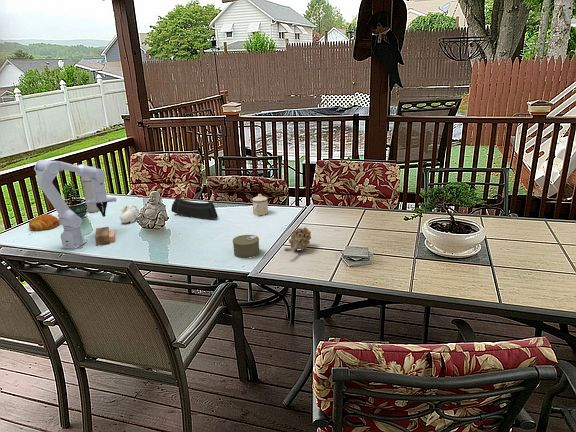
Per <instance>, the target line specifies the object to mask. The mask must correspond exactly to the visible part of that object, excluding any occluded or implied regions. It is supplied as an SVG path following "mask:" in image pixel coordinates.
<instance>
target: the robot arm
mask: <svg viewBox="0 0 576 432" xmlns="http://www.w3.org/2000/svg"><path fill="white" fill-rule="evenodd" d="M33 170H34V171H35V175H36V182H37V183H36V184H37V185H38V187H39V189H41V191H42V192H43V194H44V195H45V196H46V198H47V199H48V201H49V202H50V203H51V205H52V206H53V208H54V210H55V211H56V212H57V215H56V217H57V218H58V219H59V222H60V224H59V225H60V226H62V227H63V231H62V232H61V234H60V240H61V245H62V246H61V249H70V250H71V249H73V250H77V249H78V248H80V247H81V246H83V245H84V244H86V243H87V242H88V240H84V239H83V235H82V229H81V226H82V224H83V219H82V218H81V217H80V216H79V215H77V214H76V213H75V212H74V211H73V210H72V209H71V208H70V207H69V206H68V204H67V203H66V201H65V199H64V198H63V196H62V195H61V194H60V192H59V191H58V189H57V188H56V186H55V185H54V182H53V181H54V179H55V178H56V177H57V175H58V174H59V172H63V171H67V172H68V171H69V172H73V173H76V175H77V176H79V177H81V176H82V177H87V178H90V179H91V181H92V186H93V192H94V197H95V199H93V200H88V201H85V206H86V205H90V204H96V206H97V207H98V209H99V212H100V213H101V216H102V217H103V218H104V217H105V218H106V211H107V206H108V203H114V202H117V197H116V196H114V197H107V196H108V195H107V190H106V185H105V177H106V173H105V172H104V170H103V169H101V168H96V167H95V166H88V165H87V164H86V163H82V164H78V165H75V164H72V163H68V162H64V161H59V160H47V159H39V160H38V161H36V163H35V165H34V168H33Z"/></svg>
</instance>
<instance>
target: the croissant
mask: <svg viewBox="0 0 576 432" xmlns="http://www.w3.org/2000/svg"><path fill="white" fill-rule="evenodd" d="M59 225H61V224H60V222H59V218H58V216H55V215H53V214H47V213H45V214H40V215H37V216H35V217H33V218H32V219H31V220H30V221H29V222H28V227H29V229H30V230H31V231H33V232H40V231H49V230H52V229H54V228H57V227H58V226H59Z"/></svg>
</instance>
